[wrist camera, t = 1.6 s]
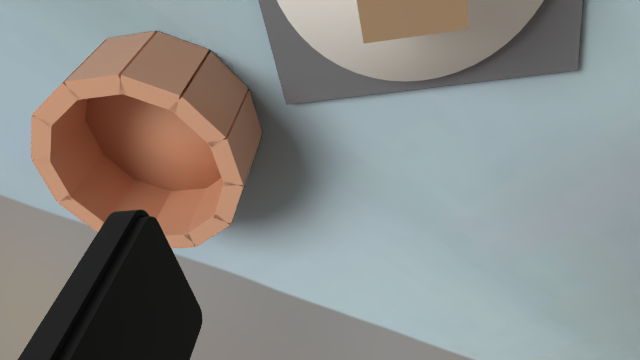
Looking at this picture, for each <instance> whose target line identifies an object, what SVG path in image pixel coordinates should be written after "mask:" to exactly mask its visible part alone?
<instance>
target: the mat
mask: <svg viewBox="0 0 640 360" xmlns="http://www.w3.org/2000/svg"><path fill="white" fill-rule="evenodd" d="M259 4H260V7H261V11H262V15H263V19H264V22H265V26H266V30H267V34H268V37H269V41H270V45H271V49H272V52H273V56H274V60H275V64H276V68H277V71H278V75H279V79H280V83H281V86H282V90H283V94H284V98H285V101H286V105H287V104H295V103H304V102H313V101H321V100H330V99H338V98H347V97H355V96H364V95H372V94H381V93H389V92H398V91H406V90H415V89H423V88H432V87H441V86H449V85H458V84H466V83H475V82H483V81H492V80H500V79H509V78H517V77H526V76H534V75H543V74H551V73H560V72H569V71H577V70H578V59H579V45H580V31H581V18H582V4H583V0H544V1H543V2H542V4H541V5H540V7H539V8H538V10H537V11H536V13H535V14H534V15H533V17H532V18H531V19H530V20H529V21H528V23H527V24H526V25H525V26H524V27H523V28H522V29H521V31H520V32H519V33H518V34H516V35H515V36H514V37H513V38H512V39H511V40H510V41H509V42H508V43H507V44H506V45H504V46H503V47H502V48H500V49H499V50H497V51H496V52H495V53H493V54H492V55H491V56H489V57H487V58H485V59H484V60H482V61H480V62H478V63H477V64H475V65H473V66H471V67H468V68H466V69H464V70H461V71H459V72H456V73H453V74H450V75H446V76H443V77H439V78H434V79H428V80H422V81H407V82H405V81H388V80H382V79H376V78H371V77H368V76H364V75H361V74H358V73H355V72H353V71H350V70H348V69H346V68H343V67H341V66H339V65H337V64H336V63H334V62H332V61H331V60H329V59H327V58H326V57H324V56H323V55H322V54H320V53H319V52H318V51H316V50H315V49H314V48H313V47H311V46H310V45H309V44H308V43H307V42H306V41H305V40H304V39H303V38H302V37H301V36H300V35H299V33H298V32H297V31H296V30H295V28H294V27H293V26H292V25H291V23H290V22H289V21H288V19H287V18H286V16H285V14H284V13H283V11H282V9H281V8H280V6H279V4H278V2H277V0H259Z"/></svg>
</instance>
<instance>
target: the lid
mask: <svg viewBox="0 0 640 360" xmlns="http://www.w3.org/2000/svg"><path fill="white" fill-rule="evenodd" d="M543 1H544V0H277V2H278V4H279V6H280V8H281V9H282V11H283V13H284V14H285V16H286V18H287V19H288V21H289V22H290V23H291V25H292V26H293V27H294V28H295V30H296V31H297V32H298V33H299V35H300V36H301V37H302V38H303V39H304V40H305V41H306V42H307V43H308V44H309V45H310V46H311V47H313V48H314V49H315V50H316V51H318V52H319V53H320V54H322V55H323V56H324V57H326V58H327V59H329V60H331V61H332V62H334V63H336V64H337V65H339V66H341V67H343V68H346V69H348V70H350V71H353V72H355V73H358V74H361V75H364V76H368V77H371V78H376V79H382V80H388V81H405V82H407V81H422V80H428V79H434V78H439V77H443V76H446V75H450V74H453V73H456V72H459V71H461V70H464V69H466V68H468V67H471V66H473V65H475V64H477V63H478V62H480V61H482V60H484V59H485V58H487V57H489V56H491V55H492V54H493V53H495V52H496V51H497V50H499V49H500V48H502V47H503V46H504V45H506V44H507V43H508V42H509V41H510V40H511V39H512V38H513V37H514V36H515V35H516V34H518V33H519V32H520V31H521V29H522V28H523V27H524V26H525V25H526V24H527V23H528V21H529V20H530V19H531V18H532V17H533V15H534V14H535V13H536V11H537V10H538V8H539V7H540V5H541V4H542V2H543Z"/></svg>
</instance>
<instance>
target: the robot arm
mask: <svg viewBox="0 0 640 360" xmlns="http://www.w3.org/2000/svg"><path fill="white" fill-rule="evenodd" d="M201 325H202V312H201V309H200V306H199V304H198V302H197V300H196V298H195V296H194V294H193V292H192V290H191V288H190V286H189V284H188V282H187V280H186V278H185V276H184V274H183V271H182V270H181V267H180V266H179V263H178V261H177V260H176V257H175V255H174V253H173V251H172V249H171V247H170V245H169V243H168V241H167V239H166V237H165V235H164V233H163V231H162V228H161V226H160V224H159V222H158V221H157V219H156V218H155V217H152V216H149V214H148V213H147V212H146V211H144V210H128V211H116V212H113V213H111V214H110V215H109V216H108V218H107V219H106V221H105V222H104V224H103V225H102V227H101V229H100V230H99V232H98V233H97V235H96V237H95V238H94V240H93V241H92V243H91V244H90V246H89V248H88V249H87V251H86V252H85V254H84V256H83V257H82V259H81V261H80V262H79V263H78V265H77V267H76V268H75V270H74V271H73V273H72V275H71V276H70V278H69V279H68V281H67V283H66V284H65V286H64V287H63V289H62V291H61V292H60V294H59V295H58V297H57V298H56V300H55V302H54V303H53V305H52V306H51V308H50V310H49V311H48V313H47V314H46V316H45V317H44V319H43V321H42V322H41V324H40V325H39V327H38V328H37V330H36V332H35V333H34V335H33V336H32V338H31V340H30V341H29V343H28V344H27V346H26V348H25V349H24V351H23V352H22V354H21V355H20V357H19V359H18V360H190V357H191V354H192V351H193V349H194V346H195V343H196V340H197V337H198V335H199V332H200V329H201Z"/></svg>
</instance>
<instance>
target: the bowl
mask: <svg viewBox="0 0 640 360" xmlns="http://www.w3.org/2000/svg"><path fill="white" fill-rule="evenodd" d="M208 52H209V49H206V48H203V47H201V46H198V45H195V44H192V43H189V42H187V41H184V40H181V39H178V38H176V37H173V36H170V35H167V34H164V33H162V32H159V31H158V32H157V33H156V31H152V32H145V33H139V34H132V35H126V36H119V37H113V38H108V39H106V40H105V41H104V42H103V43H102V44H101V45H100V46H99V47H98V48H97V49H96V50H95V51H94V52H93V53H92V54H91V55H90V56H89V57H88V58H87V59H86V60H85V61H84V62H83V63H82V64H81V65H80V66H79V67H78V68H77V69H76V70H75V71H74V72H73V73H72V74H71V75H70V76H69V77H68V78H67V79H66V80H65V81H64V82H63V83H62V84H61V85H60V86H59V87H58V88H57V89H56V90H55V91H54V92H53V93H52V94H51V95H50V96H49V97H48V98H47V99H46V100H45V101H44V102H43V104H42V105H41V106H40V107H39V108H38V109H37V110H36V111H35V112H34V113H33V115H32V131H31V158H32V159H33V160H32V161H33V163H34V165H35V166H36V168H37V170H38V171H39V173H40V175H41V176H42V178H43V180H44V181H45V183H46V185H47V186H48V188H49V190H50V191H51V193H52V195H53V196H54V198H55V200H56V201H59V202H58V203H59V204H60V205H62V206H63V207H64V208H66V209H67V210H68V211H70V212H71V213H72V214H74V215H75V216H76V217H78V218H79V219H80V220H82V221H83V222H84V223H86V224H87V225H88V226H90V227H91V228H92V229H94V230H95V231H96V232H99V230H100V229H101V227H102V225H103V224H104V222H105V221H106V219H107V218H108V216H109V215H110V214H111V213H113V212H116V211H128V210H144V211H146V212H147V213H148V214H149V216H152V217H155V218H156V219H157V221H158V222H159V224H160V226H161V228H162V231H163V233H164V235H165V237H166V239H167V241H168V243H169V245H170V247H171V248H186V247H195V246H198V245H200V244H201V243H203V242H205V241H206V240H208V239H209V238H211V237H212V236H214V235H215V234H217V233H219V232H220V231H222V230H223V229H225V228H226V227H228V226H229V225H230V224H231V223H232V220H233V217H234V214H235V212H236V209H237V206H238V203H239V201H240V198H241V195H242V192H243V189H244V187H245V184H246V181H247V178H248V176H249V173H250V170H251V167H252V164H253V161H254V158H255V155H256V152H257V149H258V146H259V143H260V140H261V137H262V130H261V126H260V123H259V120H258V116H257V113H256V110H255V106H254V103H253V100H252V97H251V93H250V90H248V87H247V86H246V85H245V84H244V83H243V82H242V81H241V80H240V79H239V78H238V77H237V76H236V75H235V74H234V73H233V72H232V71H231V70H230V69H229V68H228V67H227V66H226V65H225V64H224V63H223V62H222V61H221V60H220V59H219V58H218V57H217V56H216V55H215V54H214V53H213V52H212V51H211V52H210V53H208Z"/></svg>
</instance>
